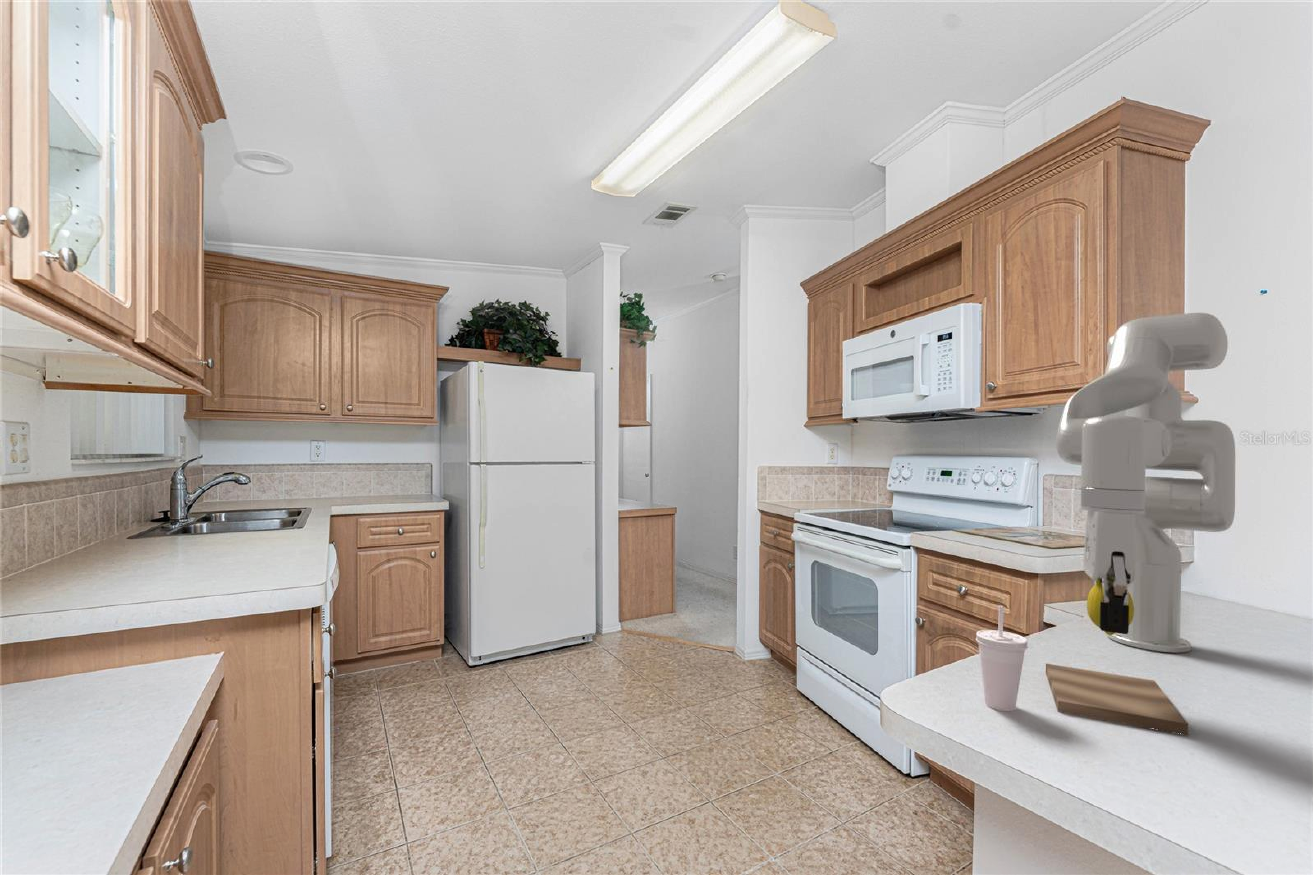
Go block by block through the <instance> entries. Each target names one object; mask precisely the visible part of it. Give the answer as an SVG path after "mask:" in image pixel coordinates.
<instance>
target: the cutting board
mask: <svg viewBox="0 0 1313 875" xmlns="http://www.w3.org/2000/svg"><path fill="white" fill-rule="evenodd" d="M1045 675H1046V679H1047V680H1048V685H1049V688H1050V691H1051V695H1052V697H1053V700H1054V701H1053V702H1054V703H1055V708H1056V710H1057V712H1058V713H1064V714H1069V715H1074V716H1075V715H1076V716H1080V717H1085V718H1091V719H1097V720H1101V721H1102V720H1103V721H1106V722H1107V721H1108V722H1113V723H1118V724H1123V725H1128V726H1133V727H1138V728H1139V727H1140V728H1144V727H1145V729H1149V728H1154V729H1158V730H1157V731H1159V730H1163V731H1162V732H1165V731H1167V732H1166V733H1170V732H1175V733H1179V734H1178V735H1181V734H1183V735H1182V736H1186V735H1188V736H1189V723H1188V722H1187V720H1186V719H1185V718H1184V716H1183V714H1181V713H1180V711H1179V710H1178V708H1176V706H1175V705H1174V703H1173V702H1172V701H1171V700H1170V699H1169V697H1168V696H1167V694H1165V692H1164V691H1163V689H1162V688H1161V687H1160V686H1159V685H1158V683H1157V682H1156V680H1153V679H1147V678H1141V677H1133V676H1127V675H1121V674H1115V673H1109V672H1101V671H1097V670H1089V669H1083V668H1078V667H1071V666H1064V665H1059V664H1058V665H1057V664H1053V663H1052V664H1051V663H1045ZM1154 729H1153V730H1154ZM1175 733H1174V734H1175ZM1180 733H1181V734H1180Z"/></svg>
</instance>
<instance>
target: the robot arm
mask: <svg viewBox="0 0 1313 875" xmlns="http://www.w3.org/2000/svg"><path fill="white" fill-rule="evenodd" d="M1228 344H1229V341H1228V334H1227V332H1226V328H1225V327H1224V325H1223V324H1222V322H1221V321H1220V320H1219V318H1218V317H1216V316H1215V315H1213V314H1211V313H1207V312H1189V313H1187V312H1186V313H1179V314H1169V315H1160V316H1159V315H1157V316H1149V317H1140V318H1136V319H1133V320H1130V321H1127V322H1125V323H1123V324H1122V325H1120V326H1119V327H1118V329H1117V330H1116V331H1115V333H1114V334H1113V335H1111V336H1110V337H1109V338H1108V340H1107V342H1106V354H1107V358H1108V359H1107V362H1106V366H1105V370H1104V374H1102V375H1101V376H1099V377H1096V379H1095V378H1094V380H1092V381H1090V382H1089V383H1087V384H1086V385H1085V386H1083V387H1082V388H1080V389H1078V390H1077V391H1076V392H1074V394H1073V395H1071V397H1070V398H1069V399H1068V400H1067V401H1066V403H1065V405H1064V406H1063V410H1062V412H1061V417H1060V419H1059V424H1058V428H1057V431H1056V437H1055V438H1056V439H1055V446H1056V447H1055V448H1056V451H1057V454H1058V455H1059V457H1060V458H1061V460H1062V461H1064V462H1065V463H1068V464H1071V465H1076V466H1081V469H1080V470H1081V474H1080V475H1081V477H1080V478H1081V480H1080V510H1082V511H1087V516H1086V522H1085V533H1084V534H1085V535H1084V537H1085V538H1084V554H1083V556H1084V557H1083V565H1082V566H1083V572H1085V574H1086V575H1087V576H1088V577H1089V578H1090V579H1092V581H1093V587H1094V586H1095V585H1097V584H1099V583H1101V582H1102V590H1103V602H1100V628H1099V629H1100V631H1102V632H1104V631H1106V632H1113V633H1114V634H1113V635H1108V634H1106V637H1108V638H1109V639H1110V640H1113V641H1115V642H1117V643H1121V644H1122V645H1125V646H1130V647H1134V648H1138V649H1143V650H1149V651H1154V652H1162V653H1180V654H1181V653H1187V652H1190V651H1191V649H1192V644H1191V642H1190V641H1188V640H1187V639H1185V638H1183V637H1181V616H1182V615H1181V613H1182V605H1181V604H1182V603H1181V601H1182V560H1183V559H1182V553H1181V550H1180V548H1179V546H1178V545H1177V544H1176V543H1175V541H1174V540H1173V539H1172V538H1171V537H1170V536H1169V535H1168V534H1167V533H1166V532H1165V531H1164V530H1165V529H1167V530H1181V531H1183V530H1184V531H1192V532H1193V531H1194V532H1195V531H1196V532H1207V533H1208V532H1210V533H1221V532H1225V531H1227V530H1229V529H1230V528H1231V527H1232V525H1233V523H1234V519H1235V514H1236V512H1235V511H1236V443H1235V437H1234V434H1233V431H1232V429H1231V428H1230V426H1228V425H1227V424H1226V423H1224V422H1221V421H1218V420H1212V419H1211V420H1209V419H1208V420H1207V419H1201V420H1200V419H1197V420H1191V419H1189V420H1185V419H1183V417H1182V401H1183V400H1182V399H1183V398H1182V393H1181V391H1180V390H1179V389H1178V388H1177V386H1175V385H1174V384H1173V383H1172V382H1171V381H1170V380H1169V372H1177V371H1178V372H1179V371H1196V370H1197V371H1200V370H1201V371H1202V370H1212V369H1216V368H1218V367H1219V366H1220V365H1221V364H1223V362H1224V360H1225V359H1226V356H1227V353H1228V346H1229V345H1228ZM1124 411H1125V412H1124ZM1120 412H1124V413H1125V415H1122V416H1121V415H1113V414H1116V413H1120ZM1110 415H1111V416H1110ZM1146 470H1153V471H1177V472H1194V473H1198V474H1199V475H1201V476H1202V478H1185V477H1184V478H1180V477H1171V476H1170V477H1169V476H1168V477H1167V476H1147V475H1146ZM1112 580H1113V581H1112ZM1108 586H1110V588H1109V589H1108ZM1108 591H1109V592H1108ZM1128 592H1129V594H1130V595H1131V597H1132V600H1133V604H1134V617H1133V620H1132V622H1131V624H1130V625H1129V605H1128Z"/></svg>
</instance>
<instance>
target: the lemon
mask: <svg viewBox="0 0 1313 875" xmlns="http://www.w3.org/2000/svg"><path fill="white" fill-rule="evenodd" d="M1112 581H1113V580H1112ZM1109 588H1110V586H1108V589H1109ZM1108 592H1109V591H1108ZM1100 602H1103V590H1102V582H1101V583H1099V584H1097V585H1095V586H1094V585H1093V586H1092V588H1091V589H1090V590H1089V592H1088V596H1087V600H1086V611H1087V615H1088V617H1089V619H1090V621H1091V622H1092V623H1093V624H1094V625H1095V626H1096V627H1098V628H1099V629H1100ZM1128 605H1129V625H1130V624H1131V622H1132V620H1133V617H1134V604H1133V600H1132V597H1131V595H1130V594H1129V592H1128ZM1103 632H1104V633H1105V634H1106V635H1107V634H1108V635H1113V634H1114V633H1113V632H1106V631H1103Z"/></svg>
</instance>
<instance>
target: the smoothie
mask: <svg viewBox="0 0 1313 875" xmlns="http://www.w3.org/2000/svg"><path fill="white" fill-rule="evenodd" d="M997 620H998V622H997V623H998V624H997V625H998V628H997V630H996V629H983V630H978V631H976V634H975V636H976V637H975V641H976V642H977V643H978V649H979V659H980V668H981V678H982V686H983V694H984V697H983V698H984V703H985V705H986V706H987V705H988V706H987V707H988V708H991V709H994V710H997V711H1001V712H1014V711H1015V710H1016V706H1017V700H1018V695H1019V689H1020V681H1021V676H1022V670H1023V664H1024V658H1025V651H1026V650H1027V649H1028V648H1029V646H1028V639H1027V638H1026V637H1024V636H1022V635H1020V634H1017V633H1013V632H1009V631H1003V630H1004V606H1003V605H998V619H997Z"/></svg>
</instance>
